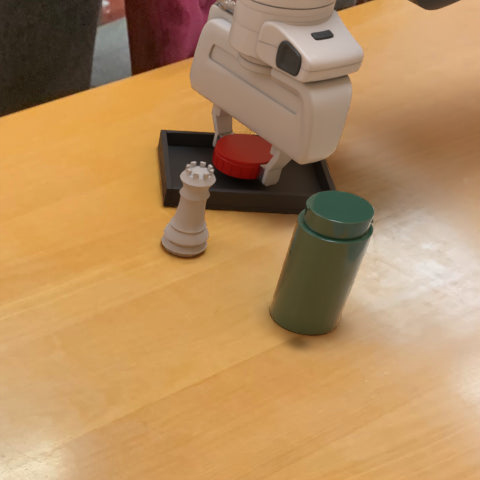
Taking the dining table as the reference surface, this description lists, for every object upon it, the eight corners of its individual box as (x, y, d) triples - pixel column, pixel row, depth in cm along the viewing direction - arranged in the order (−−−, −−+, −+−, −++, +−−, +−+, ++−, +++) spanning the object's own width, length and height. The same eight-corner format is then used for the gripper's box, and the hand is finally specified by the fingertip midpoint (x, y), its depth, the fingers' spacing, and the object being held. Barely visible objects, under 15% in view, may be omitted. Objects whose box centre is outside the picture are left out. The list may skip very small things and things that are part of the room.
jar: (331, 297, 81) (371, 189, 74) (344, 337, 77) (387, 228, 70) (265, 293, 82) (297, 185, 74) (274, 333, 78) (309, 223, 70)
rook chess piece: (213, 256, 86) (232, 177, 80) (168, 260, 85) (184, 181, 79) (197, 232, 89) (215, 154, 83) (154, 235, 88) (168, 157, 82)
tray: (312, 155, 100) (317, 137, 98) (333, 216, 91) (339, 198, 89) (157, 146, 101) (160, 129, 99) (163, 206, 92) (166, 188, 90)
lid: (235, 184, 92) (240, 168, 90) (199, 156, 96) (203, 139, 94) (287, 172, 94) (292, 156, 92) (250, 145, 98) (254, 129, 96)
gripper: (189, -6, 90) (165, 129, 100) (321, 72, 77) (278, 217, 88) (241, -15, 92) (212, 119, 102) (378, 60, 79) (329, 204, 90)
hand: (243, 165), depth 95 cm, fingers closed on lid, 6 cm apart
